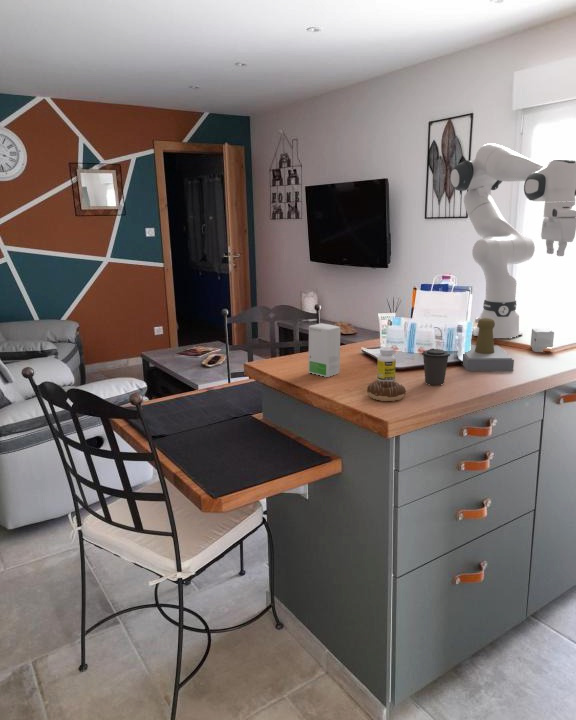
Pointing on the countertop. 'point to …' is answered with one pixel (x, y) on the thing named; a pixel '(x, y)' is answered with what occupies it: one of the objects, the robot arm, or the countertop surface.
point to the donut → (386, 391)
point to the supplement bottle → (386, 365)
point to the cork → (485, 336)
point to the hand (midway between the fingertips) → (554, 254)
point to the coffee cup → (435, 366)
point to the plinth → (488, 360)
